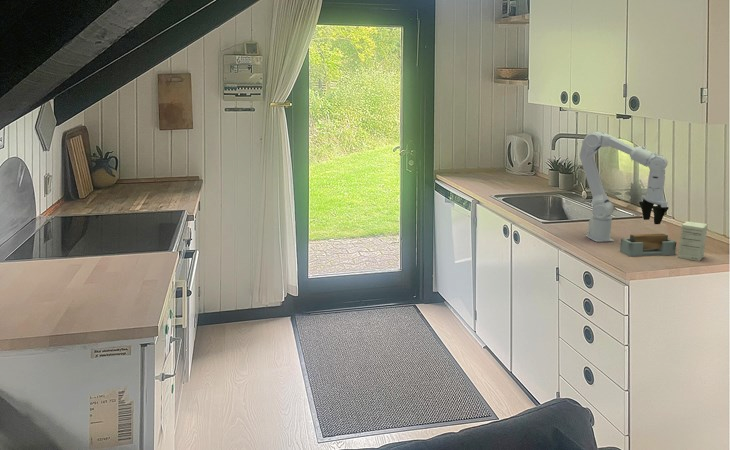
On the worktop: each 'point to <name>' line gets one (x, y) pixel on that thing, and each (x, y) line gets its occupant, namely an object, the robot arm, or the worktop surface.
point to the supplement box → (692, 240)
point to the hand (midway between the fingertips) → (651, 221)
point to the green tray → (637, 249)
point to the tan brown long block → (649, 240)
